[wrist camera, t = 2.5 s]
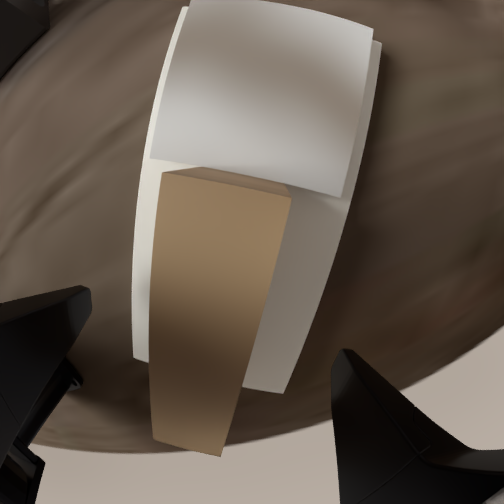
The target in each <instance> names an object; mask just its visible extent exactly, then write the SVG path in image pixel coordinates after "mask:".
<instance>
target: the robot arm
mask: <svg viewBox="0 0 504 504" xmlns="http://www.w3.org/2000/svg"><path fill="white" fill-rule="evenodd" d="M91 311H92V302H91V291H90V289H89V288H87V287H84V286H82V285H79V286H74V287H70V288H65V289H61V290H56V291H52V292H48V293H43V294H39V295H34V296H30V297H26V298H21V299H17V300H13V301H8V302H4V303H0V504H35V501H36V497H37V493H38V489H39V485H40V481H41V477H42V474H43V470H44V467H45V462H44V461H43V460H42V459H41V458H40V457H39V456H37V455H35V454H34V453H33V452H32V451H30V449H28V448H27V447H28V446H29V445H30V443H31V442H32V440H33V439H34V437H35V436H36V434H37V433H38V431H39V430H40V429H41V427H42V426H43V424H44V423H45V421H46V420H47V418H48V417H49V416H50V414H51V413H52V411H53V410H54V408H55V407H56V406H57V404H58V403H59V402H60V400H61V399H62V397H63V396H64V395H65V393H66V392H67V391H72V390H76V389H80V388H81V386H82V385H83V380H82V379H81V378H80V376H79V375H78V374H77V373H76V372H75V371H74V369H73V368H72V367H71V366H70V364H69V363H68V362H67V361H66V360H65V358H64V357H65V355H66V354H67V352H68V351H69V350H70V348H71V347H72V345H73V344H74V342H75V340H76V339H77V337H78V335H79V333H80V331H81V330H82V328H83V326H84V324H85V323H86V321H87V319H88V317H89V316H90V314H91ZM331 409H332V418H333V427H334V436H335V445H336V456H337V466H338V480H339V493H340V504H504V449H502V450H476V449H472V448H470V447H467V446H466V445H464V444H463V443H462V442H460V441H459V440H457V439H456V438H455V437H453V436H452V435H450V434H449V433H448V432H447V431H445V430H444V429H442V428H441V427H440V426H438V425H437V424H436V423H435V422H433V421H432V420H431V419H430V418H429V417H427V416H426V415H425V414H424V413H423V412H421V411H420V410H419V409H418V408H417V407H414V404H412V403H411V402H410V401H409V400H408V399H407V398H406V397H405V396H404V395H402V394H401V393H400V392H399V391H398V390H397V389H396V388H395V387H393V386H392V385H391V384H390V383H389V382H388V381H387V380H386V379H385V378H383V377H382V376H381V375H380V374H379V373H378V372H377V371H376V370H374V369H373V368H372V367H371V366H370V365H369V364H368V363H367V362H366V361H364V360H363V359H362V358H361V357H360V356H359V355H358V354H357V353H356V352H354V351H353V350H350V349H341V350H340V351H339V353H338V355H337V357H336V359H335V361H334V364H333V366H332V369H331Z"/></svg>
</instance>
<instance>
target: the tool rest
mask: <svg viewBox="0 0 504 504" xmlns="http://www.w3.org/2000/svg"><path fill="white" fill-rule="evenodd" d="M188 8H189V7H182V10H181V13H180V15H179V18H178V21H177V24H176V27H175V30H174V33H173V36H172V39H171V42H170V45H169V48H168V52H167V55H166V58H165V62H164V65H163V69H162V73H161V76H160V80H159V84H158V88H157V92H156V96H155V101H154V105H153V110H152V114H151V119H150V124H149V129H148V134H147V139H146V145H145V151H144V157H143V163H142V170H141V177H140V184H139V192H138V201H137V210H136V221H135V233H134V248H133V268H132V339H133V358H136V359H139V360H142V361H145V362H148V363H149V344H148V341H149V296H150V277H151V262H152V250H153V239H154V229H155V220H156V211H157V203H158V196H159V189H160V182H161V175H162V172H167V171H173V170H180V169H187V168H194V167H202V166H196V165H190V164H184V163H177V162H171V161H164V160H157V159H150V152H151V146H152V141H153V135H154V130H155V125H156V120H157V115H158V111H159V106H160V102H161V98H162V93H163V89H164V85H165V81H166V77H167V74H168V70H169V66H170V63H171V59H172V56H173V52H174V49H175V46H176V43H177V39H178V36H179V33H180V30H181V27H182V24H183V21H184V19H185V16H186V13H187V10H188ZM381 47H382V43H380V42H377V41H375V40H372V43H371V51H370V58H369V64H368V71H367V77H366V83H365V89H364V94H363V100H362V105H361V110H360V116H359V121H358V125H357V130H356V135H355V140H354V144H353V149H352V153H351V157H350V162H349V166H348V170H347V174H346V178H345V182H344V186H343V190H342V194H341V198H339V197H336V196H332V195H328V194H324V193H321V192H317V191H313V190H309V189H305V188H301V187H297V186H293V185H289V184H285V186H286V188H287V190H288V191H289V193H290V195H291V197H292V201H291V205H290V209H289V213H288V217H287V221H286V225H285V229H284V233H283V237H282V241H281V245H280V249H279V253H278V257H277V261H276V265H275V268H274V272H273V276H272V280H271V284H270V287H269V291H268V295H267V299H266V302H265V306H264V310H263V314H262V317H261V321H260V324H259V328H258V332H257V335H256V339H255V342H254V346H253V350H252V353H251V357H250V360H249V364H248V367H247V371H246V374H245V378H244V381H243V384H242V387H245V388H251V389H256V390H262V391H268V392H274V393H281V394H283V393H284V391H285V388H286V386H287V384H288V381H289V379H290V377H291V374H292V372H293V370H294V367H295V365H296V362H297V360H298V358H299V355H300V353H301V350H302V348H303V345H304V343H305V340H306V337H307V335H308V332H309V330H310V327H311V324H312V322H313V319H314V316H315V313H316V311H317V308H318V305H319V302H320V299H321V297H322V294H323V291H324V288H325V285H326V282H327V279H328V276H329V273H330V270H331V267H332V264H333V261H334V258H335V254H336V251H337V248H338V245H339V241H340V238H341V235H342V231H343V228H344V224H345V221H346V217H347V214H348V210H349V207H350V203H351V199H352V195H353V192H354V188H355V184H356V180H357V176H358V172H359V167H360V163H361V159H362V155H363V150H364V146H365V141H366V136H367V132H368V127H369V122H370V117H371V111H372V106H373V100H374V95H375V89H376V82H377V76H378V69H379V62H380V55H381Z"/></svg>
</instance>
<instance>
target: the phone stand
mask: <svg viewBox="0 0 504 504" xmlns="http://www.w3.org/2000/svg"><path fill="white" fill-rule="evenodd" d="M49 27H50V22H49V9H48V0H0V78H1V77H2V76H3V75H4V73H5V72H6V71H7V70H8V69H9V68H10V66H11V65H12V64H13V63H14V62H15V61H16V60H17V59H18V58H19V57H20V55H21V54H22V53H23V52H24V51H25V50H26V49H27V48H28V47H29V46H30V45H31V44H32V43H33V42H34V41H35V40H36V39H37V38H38V37H40V36H41V35H42V34H43V33H44V32H45V31H46V30H47V29H48V28H49Z"/></svg>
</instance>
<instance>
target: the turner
mask: <svg viewBox="0 0 504 504" xmlns="http://www.w3.org/2000/svg"><path fill="white" fill-rule="evenodd" d="M372 35H373V29H372V28H369V27H367V26H364V25H361V24H358V23H355V22H352V21H349V20H346V19H343V18H340V17H336V16H333V15H329V14H325V13H322V12H318V11H314V10H309V9H305V8H300V7H296V6H291V5H285V4H279V3H273V2H266V1H259V0H191V2H190V5H189V8H188V10H187V13H186V16H185V19H184V21H183V24H182V27H181V30H180V33H179V36H178V39H177V43H176V46H175V49H174V52H173V56H172V59H171V63H170V66H169V70H168V74H167V77H166V81H165V85H164V89H163V93H162V98H161V102H160V106H159V111H158V115H157V120H156V125H155V130H154V135H153V141H152V146H151V152H150V159H157V160H164V161H171V162H177V163H184V164H190V165H196V166H202V167H194V168H187V169H180V170H173V171H167V172H162V175H161V182H160V189H159V196H158V203H157V211H156V220H155V229H154V239H153V250H152V262H151V277H150V296H149V341H148V344H149V387H150V405H151V419H152V431H153V439H154V440H157V441H160V442H163V443H166V444H170V445H173V446H177V447H181V448H184V449H188V450H192V451H196V452H200V453H205V454H209V455H215V456H219V457H220V456H221V453H222V450H223V447H224V444H225V441H226V437H227V434H228V431H229V428H230V424H231V421H232V418H233V415H234V411H235V408H236V405H237V401H238V398H239V395H240V391H241V388H242V384H243V381H244V378H245V374H246V371H247V367H248V364H249V360H250V357H251V353H252V350H253V346H254V342H255V339H256V335H257V332H258V328H259V324H260V321H261V317H262V314H263V310H264V306H265V302H266V299H267V295H268V291H269V287H270V284H271V280H272V276H273V272H274V268H275V265H276V261H277V257H278V253H279V249H280V245H281V241H282V237H283V233H284V229H285V225H286V221H287V217H288V213H289V209H290V205H291V201H292V197H291V195H290V193H289V191H288V190H287V188H286V186H285V184H289V185H293V186H297V187H301V188H305V189H309V190H313V191H317V192H321V193H324V194H328V195H332V196H336V197H339V198H341V194H342V190H343V186H344V182H345V178H346V174H347V170H348V166H349V162H350V157H351V153H352V149H353V144H354V140H355V135H356V130H357V125H358V121H359V116H360V110H361V105H362V100H363V94H364V89H365V83H366V77H367V71H368V64H369V58H370V51H371V43H372Z"/></svg>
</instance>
